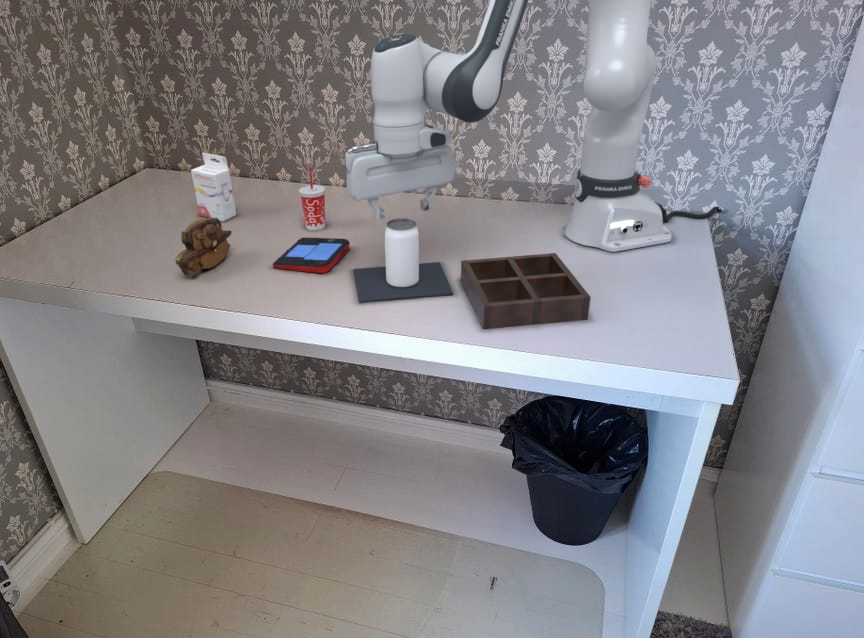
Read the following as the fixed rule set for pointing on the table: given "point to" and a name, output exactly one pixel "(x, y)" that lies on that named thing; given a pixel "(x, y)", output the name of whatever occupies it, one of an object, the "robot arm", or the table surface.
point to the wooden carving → (203, 245)
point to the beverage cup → (313, 205)
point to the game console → (313, 255)
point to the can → (402, 253)
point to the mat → (378, 289)
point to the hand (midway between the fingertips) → (402, 214)
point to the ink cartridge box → (214, 188)
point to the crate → (523, 291)
